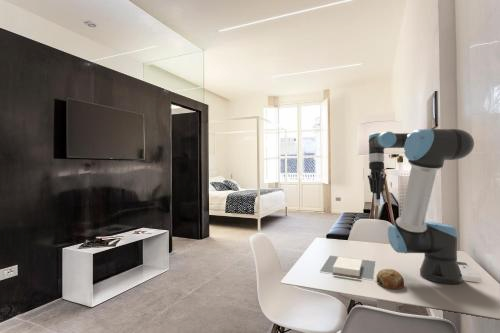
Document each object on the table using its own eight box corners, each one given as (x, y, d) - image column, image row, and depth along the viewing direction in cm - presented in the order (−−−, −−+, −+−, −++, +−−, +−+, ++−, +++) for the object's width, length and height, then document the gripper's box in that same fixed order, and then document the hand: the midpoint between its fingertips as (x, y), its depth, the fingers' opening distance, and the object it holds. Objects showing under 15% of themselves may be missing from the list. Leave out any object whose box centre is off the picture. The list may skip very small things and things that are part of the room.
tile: (338, 256, 140) (332, 266, 125) (362, 259, 135) (359, 270, 121) (338, 262, 140) (332, 273, 125) (362, 265, 135) (359, 277, 121)
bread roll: (374, 289, 118) (368, 273, 117) (391, 276, 121) (385, 260, 120) (394, 300, 109) (387, 282, 108) (412, 285, 112) (405, 267, 111)
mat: (330, 256, 151) (330, 255, 151) (375, 262, 142) (375, 261, 142) (319, 272, 128) (319, 271, 128) (373, 280, 118) (373, 279, 118)
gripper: (390, 160, 149) (391, 206, 146) (375, 163, 162) (375, 205, 159) (377, 159, 147) (378, 205, 145) (363, 163, 160) (363, 205, 157)
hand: (377, 205), depth 152 cm, fingers closed
